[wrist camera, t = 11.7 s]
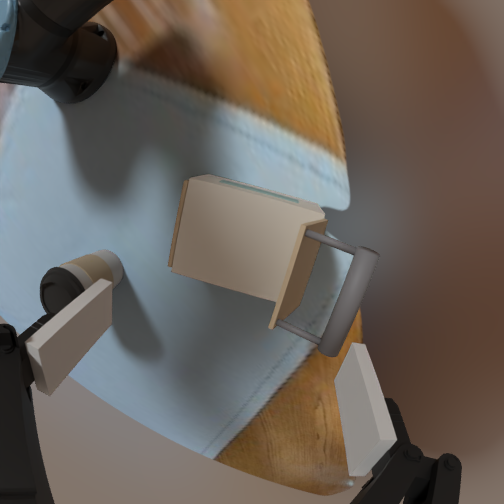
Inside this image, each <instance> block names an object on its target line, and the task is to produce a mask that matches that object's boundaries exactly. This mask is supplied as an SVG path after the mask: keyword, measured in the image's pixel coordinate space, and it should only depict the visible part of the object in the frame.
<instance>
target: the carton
mask: <svg viewBox="0 0 504 504" xmlns="http://www.w3.org/2000/svg"><path fill="white" fill-rule="evenodd" d="M324 216H325V214H324V212H323V211H322V209H321V208H320V207H319V205H318V204H317V203H314V202H311V201H307V200H304V199H300V198H297V197H293V196H290V195H286V194H283V193H279V192H276V191H272V190H269V189H265V188H261V187H257V186H254V185H250V184H246V183H242V182H238V181H234V180H231V179H227V178H223V177H219V176H214V175H210V174H206V175H201V176H196V177H191V178H190V179H189V180H185V181H184V184H183V188H182V193H181V198H180V203H179V207H178V212H177V218H176V223H175V228H174V233H173V239H172V244H171V250H170V256H169V262H168V266H169V267H172V271H171V272H174V273H177V274H180V275H183V276H187V277H190V278H193V279H197V280H200V281H203V282H207V283H210V284H214V285H217V286H220V287H224V288H227V289H231V290H234V291H238V292H241V293H245V294H248V295H252V296H256V297H259V298H263V299H266V300H270V301H274V302H277V299H278V296H279V293H280V290H281V287H282V284H283V281H284V278H285V274H286V271H287V268H288V265H289V262H290V259H291V255H292V252H293V249H294V246H295V242H296V239H297V236H298V233H299V229H300V226H301V224H304V223H308V222H312V221H316V220H321V219H324Z"/></svg>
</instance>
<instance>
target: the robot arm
mask: <svg viewBox="0 0 504 504" xmlns="http://www.w3.org/2000/svg"><path fill="white" fill-rule="evenodd" d="M112 1H113V0H0V83H9V84H17V85H24V86H31V87H38V88H39V89H40V90H42V91H43V92H44V93H45V94H47V95H48V96H49V97H50V98H52V99H53V100H55V101H58V102H63V103H77V102H80V101H82V100H84V99H86V98H88V97H89V96H91V95H92V94H93V93H94V92H96V91H97V90H98V89H99V87H100V86H101V85H102V84H103V83H104V81H105V80H106V78H107V77H108V75H109V73H110V71H111V69H112V66H113V63H114V60H115V55H116V43H115V39H114V36H113V34H112V33H111V32H110V31H109V30H108V29H107V28H105V27H104V26H102V25H100V24H98V23H95V22H87V21H88V20H89V19H91V18H92V17H93V16H94V15H95V14H97V13H98V12H99V11H100V10H101V9H103V8H104V7H105V6H107V5H108V4H109V3H110V2H112ZM111 324H112V282H110V281H107V280H104V279H99V280H98V281H97V282H96V283H94V284H93V285H92V286H91V287H89V288H88V289H87V290H86V291H84V292H83V293H82V294H81V295H79V296H78V297H77V298H76V299H74V300H73V301H72V302H71V303H70V304H68V305H67V306H66V307H65V308H64V309H62V310H61V311H60V312H59V313H58V314H55V313H52V312H51V313H49V314H46V315H44V316H42V317H41V318H40V319H38V320H37V322H35V323H34V324H32V325H31V326H30V327H29V328H28V329H26V330H25V331H24V332H23V333H22V334H21V335H19V336H18V337H17V334H16V330H15V328H14V327H13V326H12V325H9V324H0V504H55V503H54V500H53V497H52V493H51V490H50V487H49V483H48V479H47V475H46V471H45V467H44V463H43V459H42V455H41V450H40V444H39V439H38V434H37V428H36V422H35V415H34V407H33V399H32V390H31V387H30V385H31V384H32V382H33V381H34V380H35V384H36V387H37V389H38V390H39V391H41V392H43V393H45V394H46V395H48V396H51V395H52V393H53V392H54V391H55V389H56V388H57V387H58V386H59V385H60V384H61V382H62V381H63V380H64V379H65V378H66V376H67V375H68V374H69V373H70V372H71V370H72V369H73V368H74V367H75V366H76V365H77V363H78V362H79V361H80V360H81V359H82V358H83V356H84V355H85V354H86V353H87V352H88V351H89V349H90V348H91V347H92V346H93V345H94V344H95V343H96V341H97V340H98V339H99V338H100V337H101V336H102V335H103V333H104V332H105V331H106V330H107V329H108V328H109V327H110V326H111ZM334 382H335V388H336V393H337V399H338V405H339V411H340V417H341V423H342V430H343V436H344V443H345V449H346V456H347V464H348V471H349V476H365V475H367V473H368V472H369V471H370V470H371V469H372V474H373V477H372V478H371V479H370V480H369V481H368V482H367V483H366V484H365V485H364V486H363V487H362V490H361V491H360V492H359V494H358V495H357V496H356V497H355V498H354V499H353V501H352V502H351V503H350V504H399V503H400V502H401V500H402V499H403V497H404V496H405V497H404V501H403V504H458V502H459V493H460V484H461V470H462V466H461V462H460V460H459V459H458V458H457V457H456V456H455V455H453V454H449V453H446V454H443V455H442V456H440V458H439V459H433V458H429V457H425V456H424V455H423V453H422V451H421V449H419V448H418V447H417V446H415V445H413V444H411V442H410V439H409V436H408V434H407V431H406V428H405V425H404V422H403V419H402V416H401V413H400V411H399V408H398V405H397V404H396V403H395V402H394V401H393V399H391V398H384V397H383V394H382V391H381V388H380V385H379V382H378V379H377V376H376V373H375V371H374V368H373V365H372V362H371V359H370V356H369V354H368V351H367V348H366V346H365V344H359V343H353V342H352V344H351V346H350V349H349V351H348V353H347V355H346V357H345V359H344V361H343V363H342V365H341V368H340V370H339V372H338V374H337V376H336V378H335V380H334Z"/></svg>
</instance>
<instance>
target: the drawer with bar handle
mask: <svg viewBox="0 0 504 504" xmlns="http://www.w3.org/2000/svg"><path fill="white" fill-rule="evenodd" d="M327 223H328V220H326V219H321V220H316V221H312V222H308V223H304V224H301V226H300V229H299V233H298V236H297V239H296V242H295V246H294V249H293V252H292V255H291V259H290V262H289V265H288V268H287V271H286V274H285V278H284V281H283V284H282V287H281V290H280V293H279V296H278V299H277V302H276V305H275V309H274V312H273V315H272V318H271V321H270V324H269V327H268V328H270V329H272V330H273V329H274V328H275V327H276V326H280V327H282V328H284V329H286V330H288V331H290V332H292V333H294V334H296V335H298V336H300V337H302V338H305V339H307V340H309V341H311V342H313V343H315V344H317V345H318V350H319V351H320V352H321V353H322V354H324V355H326V356H328V357H336V356H337V355H338V354H339V352H340V349H341V347H342V345H343V343H344V341H345V339H346V337H347V335H348V332H349V330H350V328H351V326H352V323H353V321H354V319H355V317H356V314H357V312H358V310H359V307H360V305H361V303H362V300H363V298H364V295H365V293H366V291H367V288H368V286H369V283H370V281H371V278H372V275H373V273H374V270H375V268H376V265H377V262H378V260H379V257H380V254H379V253H377V252H375V251H374V250H371V249H369V248H366V247H362V246H357V248H356V247H353V246H351V245H348V244H345V243H343V242H340V241H338V240H335V239H333V238H330V237H327V236H325V235H324V232H325V229H326V226H327ZM321 243H324V244H327V245H329V246H332V247H334V248H337V249H339V250H342V251H344V252H347V253H349V254H352V255H354V257H353V260H352V262H351V265H350V268H349V271H348V273H347V276H346V279H345V281H344V284H343V287H342V289H341V292H340V294H339V297H338V299H337V302H336V304H335V307H334V309H333V312H332V314H331V317H330V319H329V322H328V324H327V326H326V329H325V331H324V333H323V336H322V338H319V337H317V336H315V335H313V334H311V333H308V332H306V331H304V330H302V329H300V328H298V327H296V326H293V325H291V324H289V323H287V322H285V321H283V320H284V319H285V318H286V317H287V316H288V315H290V314H291V313H292V312H293V311H294V310H295V309H296V308H297V307H298V306H299V305H300V303H301V300H302V297H303V294H304V292H305V289H306V286H307V283H308V280H309V277H310V274H311V271H312V268H313V266H314V263H315V260H316V257H317V254H318V251H319V247H320V244H321Z"/></svg>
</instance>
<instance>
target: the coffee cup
mask: <svg viewBox="0 0 504 504" xmlns="http://www.w3.org/2000/svg"><path fill="white" fill-rule="evenodd" d="M122 277H123V266H122V263H121V261H120V259H119V258H118V257H117V255H116V254H114V253H113V252H111V251H109V250H99V251H97V252H94V253H92V254H89V255H85V256H82V257H80V258H77V259H74V260H72V261H69V262H67V263H64V264H62V265H60V266H59V267H54V268H51V269H50V270H48V271H47V273H46V274H45V275H44V277H43V278H42V280H41V284H40V299H41V303H42V306H43V308H44V310H45V312H46V313H47V314H49V313H51V312H52V313H55V314H58V313H59V312H60V311H61V310H62V309H64V308H65V307H66V306H67V305H68V304H70V303H71V302H72V301H73V300H74V299H76V298H77V297H78V296H79V295H81V294H82V293H83V292H84V291H86V290H87V289H88V288H89V287H91V286H92V285H93V284H94V283H96V282H97V281H98V280H99V279H104V280H107V281H110V282H112V290H113V289H114V288H115V287H116V286H117V284H118V283H119V282H120V281H121V280H122Z"/></svg>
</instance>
